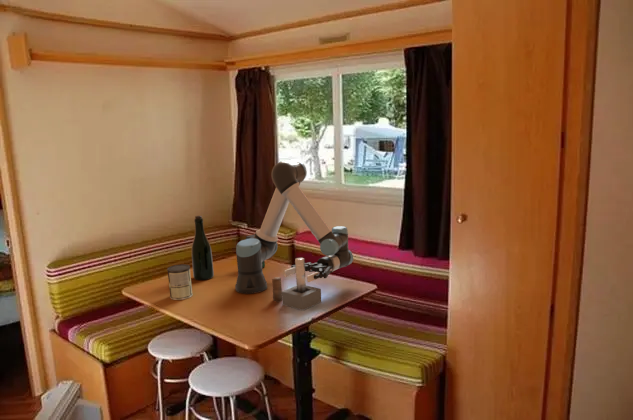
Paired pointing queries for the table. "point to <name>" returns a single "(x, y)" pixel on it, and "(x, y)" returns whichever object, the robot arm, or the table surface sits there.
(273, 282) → the short walnut pin
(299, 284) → the long steel pin
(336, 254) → the robot arm
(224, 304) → the table surface
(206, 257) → the beer bottle
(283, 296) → the hole block
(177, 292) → the coffee can
